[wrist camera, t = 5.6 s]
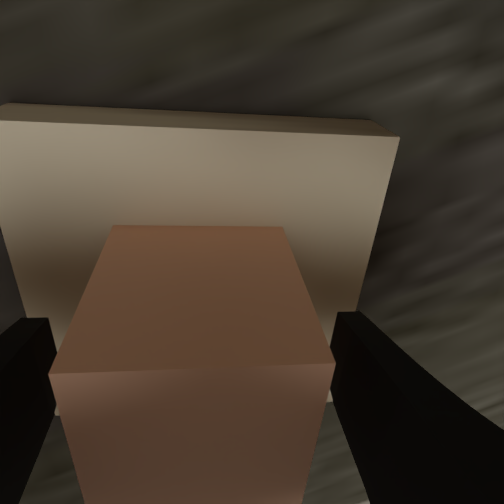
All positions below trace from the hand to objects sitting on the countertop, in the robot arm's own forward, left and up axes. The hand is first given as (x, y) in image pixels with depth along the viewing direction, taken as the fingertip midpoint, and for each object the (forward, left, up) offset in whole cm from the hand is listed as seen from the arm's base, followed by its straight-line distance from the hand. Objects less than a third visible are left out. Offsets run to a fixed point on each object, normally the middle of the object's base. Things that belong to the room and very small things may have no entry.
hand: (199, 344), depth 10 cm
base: (0, 0, -4) cm, 4 cm away
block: (0, 0, -2) cm, 2 cm away
